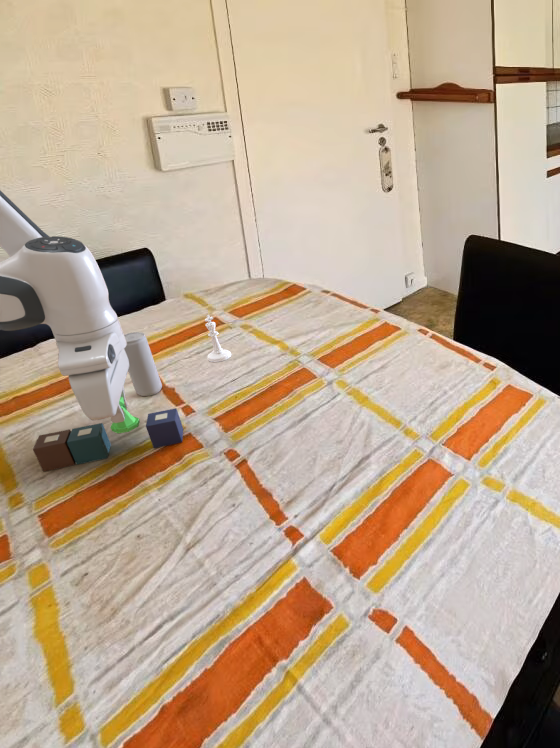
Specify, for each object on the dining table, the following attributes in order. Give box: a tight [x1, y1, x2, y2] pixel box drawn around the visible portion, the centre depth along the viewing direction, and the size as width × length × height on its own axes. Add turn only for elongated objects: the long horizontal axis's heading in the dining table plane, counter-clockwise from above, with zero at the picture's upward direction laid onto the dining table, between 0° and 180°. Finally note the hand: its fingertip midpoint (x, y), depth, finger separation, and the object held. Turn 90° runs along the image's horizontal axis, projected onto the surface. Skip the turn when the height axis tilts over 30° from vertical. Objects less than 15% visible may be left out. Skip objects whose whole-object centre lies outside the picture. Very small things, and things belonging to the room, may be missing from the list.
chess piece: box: [204, 314, 232, 363], centre depth 136 cm, size 5×5×10 cm
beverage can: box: [124, 331, 163, 397], centre depth 122 cm, size 5×5×12 cm
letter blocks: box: [32, 408, 184, 472], centre depth 106 cm, size 21×4×5 cm, turn 112°
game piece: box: [110, 397, 141, 434], centre depth 105 cm, size 4×4×6 cm
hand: (121, 415), depth 105 cm, fingers closed on game piece, 2 cm apart
